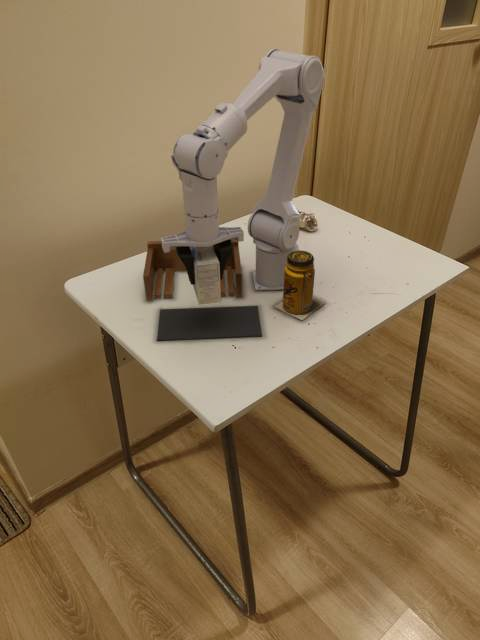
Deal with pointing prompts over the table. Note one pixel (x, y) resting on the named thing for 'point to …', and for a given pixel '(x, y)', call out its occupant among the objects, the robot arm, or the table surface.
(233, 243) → the shelf rack
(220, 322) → the rubber mat
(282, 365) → the table surface
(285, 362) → the table surface
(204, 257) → the medicine box
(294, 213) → the robot arm
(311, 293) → the condiment
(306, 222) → the ornament
